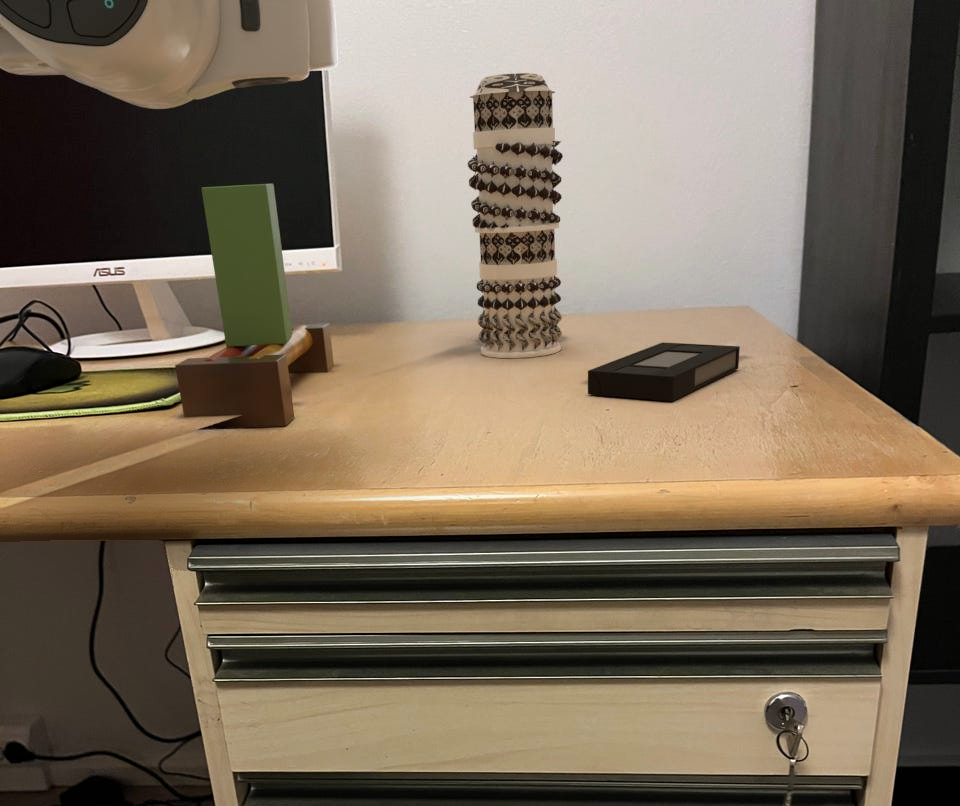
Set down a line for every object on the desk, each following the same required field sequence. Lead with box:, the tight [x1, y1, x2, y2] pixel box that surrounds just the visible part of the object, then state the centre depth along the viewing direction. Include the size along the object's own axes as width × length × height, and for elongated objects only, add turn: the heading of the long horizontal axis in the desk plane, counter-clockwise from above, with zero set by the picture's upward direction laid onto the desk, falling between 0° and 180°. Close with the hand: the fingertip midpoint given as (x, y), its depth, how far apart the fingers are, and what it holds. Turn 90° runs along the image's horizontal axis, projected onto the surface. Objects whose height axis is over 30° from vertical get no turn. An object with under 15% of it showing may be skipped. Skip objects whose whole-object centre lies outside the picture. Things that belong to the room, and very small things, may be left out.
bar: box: [201, 183, 292, 348], centre depth 81 cm, size 5×5×12 cm
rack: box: [174, 322, 335, 430], centre depth 85 cm, size 8×20×5 cm, turn 177°
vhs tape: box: [587, 341, 741, 402], centre depth 84 cm, size 8×14×2 cm, turn 146°
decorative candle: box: [467, 72, 564, 359], centre depth 97 cm, size 9×9×25 cm
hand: (187, 50), depth 65 cm, fingers open, 8 cm apart
